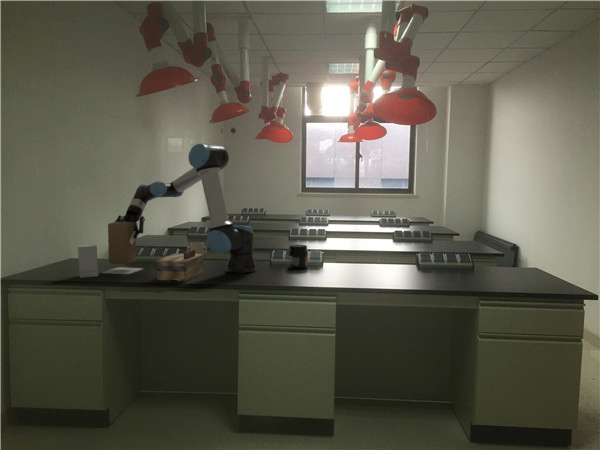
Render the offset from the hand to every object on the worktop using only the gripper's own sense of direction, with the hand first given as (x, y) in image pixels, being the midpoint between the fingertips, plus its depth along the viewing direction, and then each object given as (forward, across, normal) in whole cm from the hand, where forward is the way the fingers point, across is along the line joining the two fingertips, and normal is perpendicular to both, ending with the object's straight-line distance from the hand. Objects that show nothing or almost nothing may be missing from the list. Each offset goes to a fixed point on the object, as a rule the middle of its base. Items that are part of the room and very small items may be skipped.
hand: (120, 242), depth 226 cm
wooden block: (+6, 0, -9) cm, 10 cm away
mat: (+9, 0, -11) cm, 15 cm away
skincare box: (+20, +9, -1) cm, 22 cm away
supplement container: (-10, -84, -30) cm, 90 cm away
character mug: (-3, -32, -24) cm, 40 cm away
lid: (+7, -33, -1) cm, 34 cm away
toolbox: (+13, -33, -7) cm, 37 cm away
